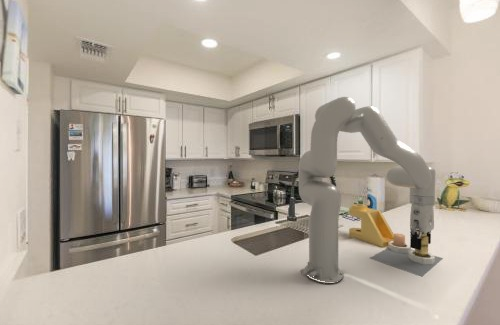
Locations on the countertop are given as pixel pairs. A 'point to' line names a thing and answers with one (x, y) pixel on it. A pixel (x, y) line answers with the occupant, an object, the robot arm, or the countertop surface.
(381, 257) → the mat
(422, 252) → the gold rounded cylinder
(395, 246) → the joined fitting
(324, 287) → the countertop surface
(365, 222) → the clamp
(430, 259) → the white octagonal ring
